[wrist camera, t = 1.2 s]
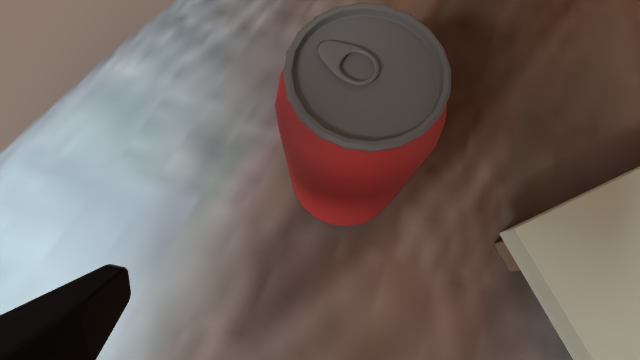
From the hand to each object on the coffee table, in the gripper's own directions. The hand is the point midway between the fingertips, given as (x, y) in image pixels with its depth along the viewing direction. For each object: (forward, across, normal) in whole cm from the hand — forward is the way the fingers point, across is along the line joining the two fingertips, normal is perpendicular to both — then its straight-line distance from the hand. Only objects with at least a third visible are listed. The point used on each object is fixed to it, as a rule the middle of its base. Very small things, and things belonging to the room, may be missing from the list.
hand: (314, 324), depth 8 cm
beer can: (+15, 0, +4) cm, 16 cm away
